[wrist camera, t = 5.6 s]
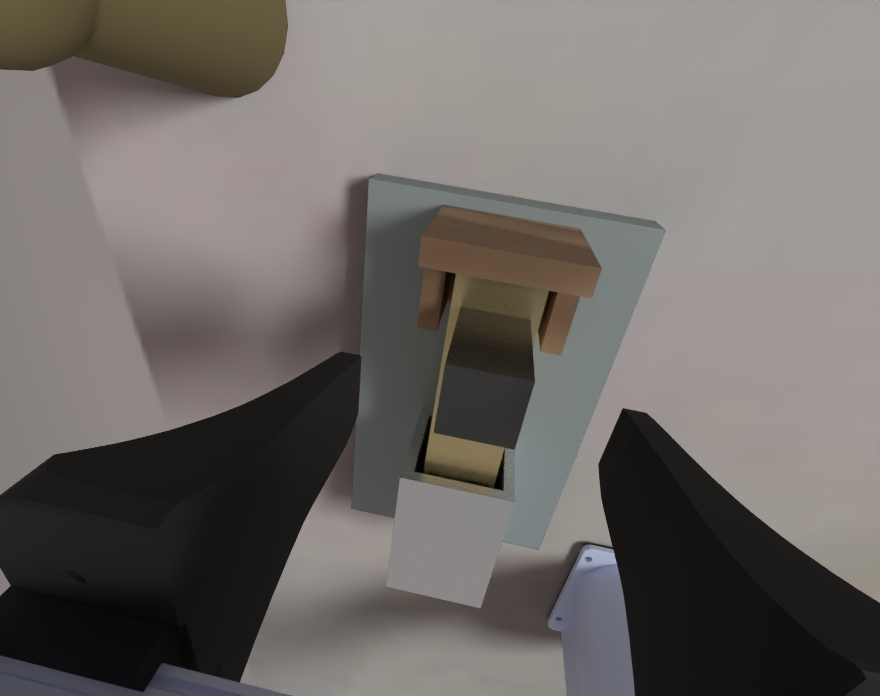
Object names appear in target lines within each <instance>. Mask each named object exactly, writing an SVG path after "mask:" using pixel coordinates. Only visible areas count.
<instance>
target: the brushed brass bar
mask: <svg viewBox="0 0 880 696" xmlns="http://www.w3.org/2000/svg"><path fill="white" fill-rule="evenodd" d="M548 293H549V291H548V290H543V289H537V288H532V287H526V286H521V285H516V284H510V283H505V282H499V281H494V280H489V279H483V278H478V277H472V276H467V275H462V274H456V277H455V283H454V289H453V295H452V301H451V307H450V313H449V319H448V326H447V332H446V338H445V344H444V350H443V356H442V362H441V368H440V374H439V380H438V386H437V392H436V398H435V404H434V410H433V417H432V423H431V429H430V435H429V441H428V447H427V453H426V459H425V465H424V471H423V474H427V475H432V476H437V477H441V478H446V479H451V480H455V481H460V482H465V483H469V484H474V485H479V486H483V487H488V488H493V487H494V484H495V480H496V477H497V473H498V470H499V466H500V463H501V459H502V455H503V452H504V448H508V449H513V450H515V447H516V444H517V441H518V437H519V434H520V431H521V427H522V424H523V421H524V417H525V414H526V411H527V407H528V404H529V401H530V397H531V394H532V391H533V387H534V384H535V373H534V360H533V346H534V342H535V339H536V335H537V332H538V328H539V325H540V321H541V318H542V314H543V311H544V307H545V304H546V300H547V297H548Z"/></svg>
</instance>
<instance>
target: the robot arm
mask: <svg viewBox="0 0 880 696" xmlns="http://www.w3.org/2000/svg"><path fill="white" fill-rule="evenodd" d="M361 359H362V356H360V355H355V354H350V353H345V352H339V353H337V354H335V355H334V356H332V357H330V358H329V359H327V360H325V361H324V362H322V363H320V364H319V365H317V366H315V367H314V368H312V369H310V370H309V371H307V372H305V373H303V374H302V375H300V376H298V377H296V378H295V379H293V380H291V381H290V382H288V383H286V384H284V385H282V386H280V387H278V388H276V389H274V390H272V391H270V392H268V393H266V394H264V395H262V396H260V397H258V398H256V399H254V400H252V401H250V402H247V403H245V404H243V405H241V406H238V407H236V408H233V409H231V410H228V411H226V412H223V413H221V414H218V415H215V416H212V417H209V418H206V419H203V420H200V421H197V422H194V423H191V424H188V425H185V426H182V427H179V428H176V429H172V430H169V431H165V432H161V433H158V434H154V435H150V436H146V437H142V438H138V439H134V440H130V441H125V442H120V443H116V444H111V445H106V446H100V447H95V448H90V449H84V450H79V451H73V452H68V453H61V454H55V455H53V456H52V457H50V458H49V459H48V460H46V461H45V462H44V463H42V464H41V465H40V466H38V467H37V468H36V469H34V470H33V471H32V472H30V473H29V474H28V475H26V476H25V477H24V478H22V479H21V480H20V481H18V482H17V483H16V484H14V485H13V486H12V487H10V488H9V489H8V490H7V491H5V492H4V493H3V494H1V495H0V568H1V570H2V571H3V573H4V575H5V577H6V578H7V580H8V582H9V583H10V585H11V586H10V587H9V588H8V589H7V590H6V591H5V592H4V593H3V594H2V595H1V596H0V696H291V695H287V694H283V693H279V692H275V691H271V690H267V689H263V688H259V687H255V686H251V685H247V684H243V683H240V680H241V677H242V674H243V672H244V669H245V666H246V664H247V661H248V658H249V656H250V653H251V650H252V647H253V645H254V642H255V639H256V637H257V634H258V632H259V629H260V627H261V624H262V621H263V619H264V616H265V614H266V611H267V609H268V606H269V604H270V601H271V598H272V596H273V593H274V591H275V589H276V586H277V584H278V581H279V579H280V576H281V574H282V572H283V569H284V567H285V564H286V562H287V559H288V557H289V555H290V552H291V550H292V548H293V546H294V543H295V541H296V539H297V536H298V534H299V532H300V529H301V527H302V525H303V523H304V521H305V519H306V517H307V515H308V513H309V511H310V509H311V507H312V505H313V503H314V502H315V500H316V498H317V496H318V494H319V493H320V491H321V489H322V487H323V486H324V484H325V482H326V480H327V478H328V477H329V475H330V473H331V471H332V470H333V468H334V466H335V464H336V462H337V461H338V459H339V457H340V455H341V453H342V451H343V450H344V448H345V446H346V444H347V442H348V439H349V437H350V434H351V432H352V429H353V427H354V424H355V422H356V419H357V416H358V412H359V394H360V377H361ZM598 465H599V478H600V489H601V499H602V503H603V508H604V512H605V516H606V521H607V525H608V529H609V534H610V538H611V542H612V546H613V549H609V548H604V547H600V546H595V545H585V546H583V548H582V549H581V551H580V554H579V556H578V558H577V560H576V562H575V564H574V566H573V568H572V570H571V572H570V575H569V577H568V579H567V581H566V583H565V585H564V587H563V589H562V591H561V594H560V596H559V598H558V600H557V602H556V604H555V606H554V608H553V610H552V613H551V615H550V617H549V619H548V627H549V628H550V629H552V630H556V631H560V632H561V636H562V647H563V659H564V670H565V681H566V693H567V696H880V603H879V602H877V601H876V600H874V599H872V598H871V597H869V596H868V595H866V594H864V593H863V592H861V591H860V590H858V589H856V588H855V587H853V586H852V585H850V584H849V583H847V582H846V581H844V580H843V579H841V578H840V577H838V576H837V575H835V574H834V573H832V572H831V571H829V570H828V569H826V568H825V567H823V566H822V565H821V564H819V563H818V562H816V561H815V560H813V559H812V558H811V557H809V556H808V555H806V554H805V553H803V552H802V551H801V550H799V549H798V548H796V547H795V546H794V545H792V544H791V543H790V542H788V541H787V540H786V539H784V538H783V537H782V536H780V535H779V534H778V533H777V532H775V531H774V530H773V529H772V528H770V527H769V526H768V525H766V524H765V523H764V522H763V521H761V520H760V519H759V518H758V517H756V516H755V515H754V514H753V513H751V512H750V511H749V510H748V509H747V508H746V507H744V506H743V505H742V504H741V503H740V502H739V501H737V500H736V499H735V498H734V497H733V496H732V495H731V494H730V493H729V492H727V491H726V490H725V489H724V488H723V487H722V486H721V485H720V484H719V483H717V482H716V481H715V480H714V479H713V478H712V477H711V476H710V475H709V474H708V473H707V472H706V471H705V470H704V469H703V468H702V467H701V466H700V465H699V464H698V463H697V462H696V461H695V460H694V459H693V458H692V457H691V456H690V455H689V454H688V453H687V452H686V451H685V450H684V449H683V448H682V447H681V446H680V445H679V444H678V443H677V442H676V441H675V440H674V439H673V438H672V437H671V436H670V435H669V434H668V433H667V432H666V431H665V430H664V429H663V428H662V427H661V426H660V425H659V424H658V423H657V422H656V421H655V420H654V419H652V418H651V417H650V416H649V415H648V414H647V413H644V412H639V411H634V410H629V409H624V408H623V409H622V411H621V414H620V416H619V418H618V421H617V423H616V425H615V427H614V430H613V432H612V434H611V437H610V439H609V441H608V443H607V446H606V448H605V450H604V453H603V455H602V457H601V460H600V462H599V464H598Z"/></svg>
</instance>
